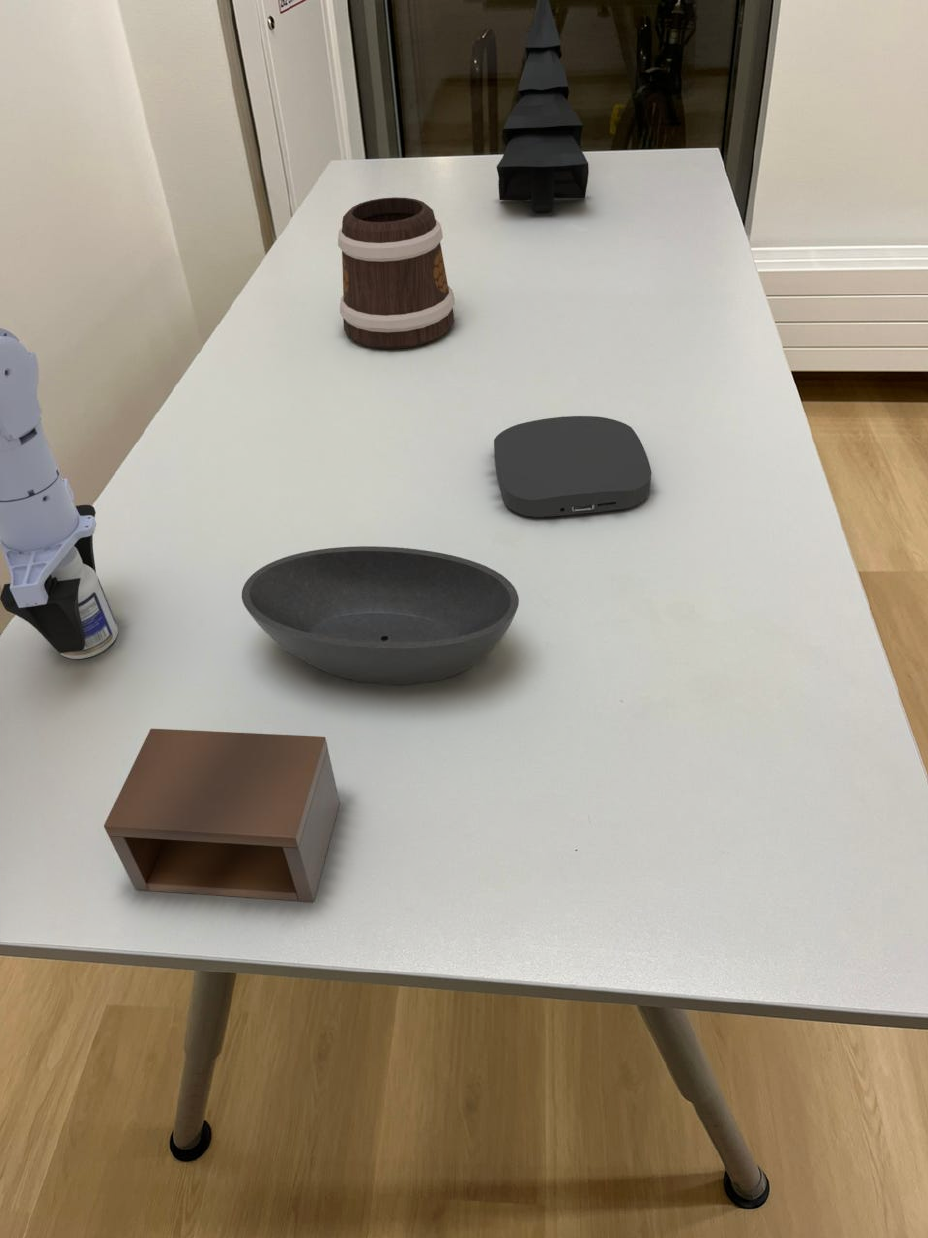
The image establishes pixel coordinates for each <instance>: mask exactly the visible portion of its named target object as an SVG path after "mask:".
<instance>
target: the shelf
mask: <svg viewBox="0 0 928 1238" xmlns="http://www.w3.org/2000/svg"><path fill="white" fill-rule="evenodd" d="M340 803H341V801H340V797H339V792H338V788H337V784H336V779H335V774H334V769H333V766H332V762H331V757H330V752H329V748H328V742H327V739H326V736H318V735H317V736H316V735H298V734H297V735H293V734H276V733H275V734H273V733H254V732H253V733H252V732H249V733H248V732H231V731H213V730H212V731H210V730H209V731H208V730H192V729H191V730H190V729H169V728H168V729H167V728H150V729H149V731H148V732H147V735H146V738H145V740H144V741H143V743H142V746H141V748H140V750H139V752H138V754H137V756H136V758H135V760H134V762H133V764H132V767H131V768H130V770H129V772H128V775H127V777H126V779H125V781H124V783H123V785H122V786H121V789H120V791H119V793H118V796H117V797H116V800H115V801H114V803H113V806H112V808H111V810H110V812H109V813H108V816H107V818H106V820H105V822H104V825H103V828H104V831H105V832H106V834H107V836H108V838H109V840H110V842H111V844H112V846H113V848H114V850H115V852H116V855H117V856H118V858H119V860H120V862H121V864H122V866H123V868H124V870H125V872H126V874H127V876H128V878H129V881H130V882H131V884H132V886H133V889H134V890H136V891H147V892H149V891H151V892H166V893H181V894H195V895H208V896H209V895H210V896H222V897H223V896H225V897H238V898H253V899H265V900H266V899H267V900H282V901H283V900H284V901H294V902H295V901H296V902H298V901H299V902H308V903H309V902H311V903H314V901H315V899H316V895H317V891H318V888H319V883H320V879H321V877H322V872H323V869H324V868H323V867H324V865H325V860H326V856H327V853H328V850H329V849H328V848H329V845H330V841H331V838H332V834H333V830H334V826H335V823H336V819H337V815H338V811H339V807H340Z"/></svg>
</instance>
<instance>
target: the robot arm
mask: <svg viewBox="0 0 928 1238" xmlns="http://www.w3.org/2000/svg"><path fill="white" fill-rule="evenodd" d="M20 341H21V340H20V339H19V338H18V337H17V336H16V335H15V334H14V333H12V332H11V331H9V330H8V329H5V328H2V327H0V547H1V550H2V553H3V556H4V559H5V562H6V566H7V568H8V571H9V576H10V583H4V584H3V587H2V590H1V594H0V602H1V605H2V606H3V608H4V610H5V611H6V612H8V613H11V614H13V615H15V616H16V617H19V618H20V619H22V620H24V621H25V622H27V623H28V624H30V625H31V626H32V627H33V628H34V629H35V630H37V631H38V633H39V634H40V635H42V637H43V638H44V639H45V640H46V641H47V642H48V643H49V644H50V646H52V648H54V650H55V651H56V652H57V653H59V654H60V653H66V652H72V651H79V650H83V649H84V647H85V634H84V629H83V625H82V621H81V617H80V613H79V606H78V590H79V584H80V580H81V578H77V579H70V580H63V581H58V580H57V578H56V577H54V578H52V576H51V573H52V572H53V570H54V569H55V568H56V567H57V566H58V564H59V563H60V562H61V561H62V559H63V558H64V557H65V556H66V554H67V553H68V552H69V551H70V550H71V548H72V547H73V546H74V547H76V549H77V550H78V552H79V554H80V557H81V559H82V562H83V564H85V565H88V566H89V567H91V568H92V569H93V570H94V571H95V573H96V574H97V572H96V570H97V569H96V563H95V562H96V561H95V555H94V546H93V545H94V544H93V540H94V539H93V536H94V534H95V533H96V532H95V531H96V528H97V522H96V521H97V520H96V519H95V518H96V509H95V507H94V506H93V505H91V504H80V505H76V504H75V502H74V501H75V494H74V491H73V489H72V487H71V485H70V482H69V479H68V478H67V477H66V478H65V477H64V478H63V477H62V474H61V471H60V469H59V468H60V467H59V465H58V463H57V461H56V458H55V456H54V453H53V450H52V447H51V445H50V442H49V440H48V437H47V435H46V432H45V429H44V427H43V425H42V417H41V414H42V413H43V410H42V408H41V404H40V402H39V399H38V385H39V379H40V369H39V361H38V357H37V355H36V353H35V352H31V351H28V349H27V348H26V346H25V345H24V344H23V343H21V342H20Z"/></svg>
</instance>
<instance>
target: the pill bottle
mask: <svg viewBox="0 0 928 1238" xmlns="http://www.w3.org/2000/svg"><path fill="white" fill-rule="evenodd" d="M51 576H52V578H54V577H56V578H57V580H58V581H63V580H70V579H77V578H81V580H80V584H79V590H78V606H79V613H80V617H81V621H82V625H83V629H84V634H85V647H84V649H83V650H79V651H72V652H66V653H59V654H60V655H61V656H63V657H65V658H68V659H74V660H82V659H88V658H91V657H94V656H97V655H99V654H100V653H102V652H104V651H106V650H107V649H108V648H110V646H111V645H112V644H113V643H114V642H115V641H116V639H117V637H118V633H119V627H118V624H117V622H116V618H115V616H114V614H113V610H112V609H111V607H110V604H109V601H108V599H107V596H106V594H105V591H104V589H103V586H102V584H101V582H100V578H99V577H98V575H97V572H96V573H95V571H94V570H93V569H92V568H91V567H89V566H88V565H85V564H83V562H82V559H81V557H80V554H79V552H78V550H77V549H76V547H74V546H73V547H72V548H71V550H70V551H69V552H68V553H67V554H66V556H65V557H64V558H63V559H62V561H61V562H60V563H59V564H58V566H57V567H56V568H55V569H54V570H53V572H52V573H51Z"/></svg>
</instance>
